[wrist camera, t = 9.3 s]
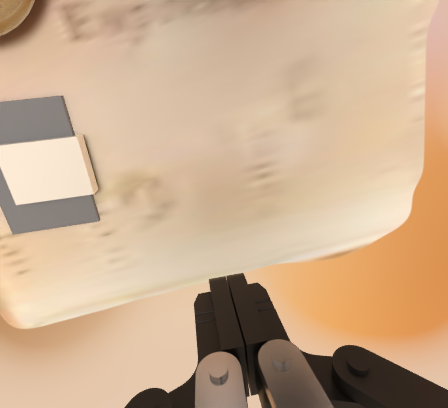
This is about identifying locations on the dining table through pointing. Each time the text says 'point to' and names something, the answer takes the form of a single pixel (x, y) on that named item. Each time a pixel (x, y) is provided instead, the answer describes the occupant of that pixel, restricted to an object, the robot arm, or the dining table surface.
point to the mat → (36, 130)
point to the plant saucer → (13, 14)
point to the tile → (47, 169)
